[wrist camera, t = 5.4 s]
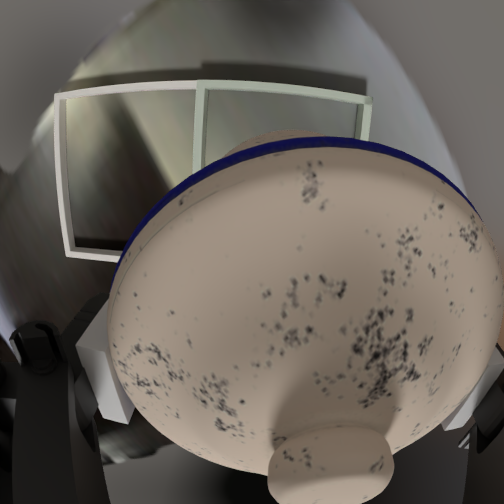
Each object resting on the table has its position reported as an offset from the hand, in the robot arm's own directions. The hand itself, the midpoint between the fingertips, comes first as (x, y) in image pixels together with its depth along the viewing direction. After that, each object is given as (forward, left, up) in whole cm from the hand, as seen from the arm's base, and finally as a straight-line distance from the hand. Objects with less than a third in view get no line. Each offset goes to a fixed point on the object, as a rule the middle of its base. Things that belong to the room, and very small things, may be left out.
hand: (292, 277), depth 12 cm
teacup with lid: (+1, 0, -3) cm, 3 cm away
